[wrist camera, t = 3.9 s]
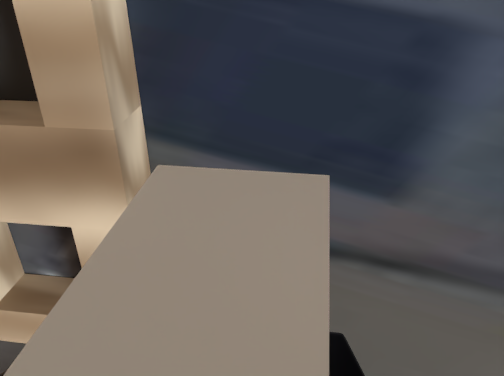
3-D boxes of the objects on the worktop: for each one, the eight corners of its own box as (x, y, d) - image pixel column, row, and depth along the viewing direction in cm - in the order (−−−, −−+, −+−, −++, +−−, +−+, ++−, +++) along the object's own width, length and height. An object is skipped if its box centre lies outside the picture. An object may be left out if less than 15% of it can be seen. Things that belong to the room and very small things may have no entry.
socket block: (171, 318, 27) (153, 361, 25) (-8, 299, 29) (-44, 338, 26) (108, -118, 16) (64, -128, 14) (-174, -109, 18) (-264, -115, 15)
